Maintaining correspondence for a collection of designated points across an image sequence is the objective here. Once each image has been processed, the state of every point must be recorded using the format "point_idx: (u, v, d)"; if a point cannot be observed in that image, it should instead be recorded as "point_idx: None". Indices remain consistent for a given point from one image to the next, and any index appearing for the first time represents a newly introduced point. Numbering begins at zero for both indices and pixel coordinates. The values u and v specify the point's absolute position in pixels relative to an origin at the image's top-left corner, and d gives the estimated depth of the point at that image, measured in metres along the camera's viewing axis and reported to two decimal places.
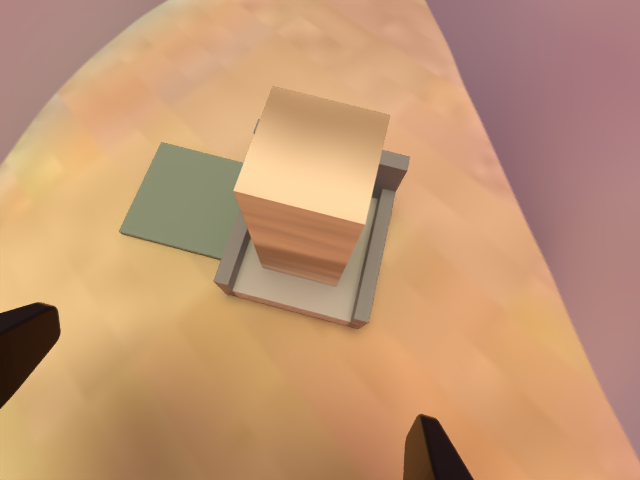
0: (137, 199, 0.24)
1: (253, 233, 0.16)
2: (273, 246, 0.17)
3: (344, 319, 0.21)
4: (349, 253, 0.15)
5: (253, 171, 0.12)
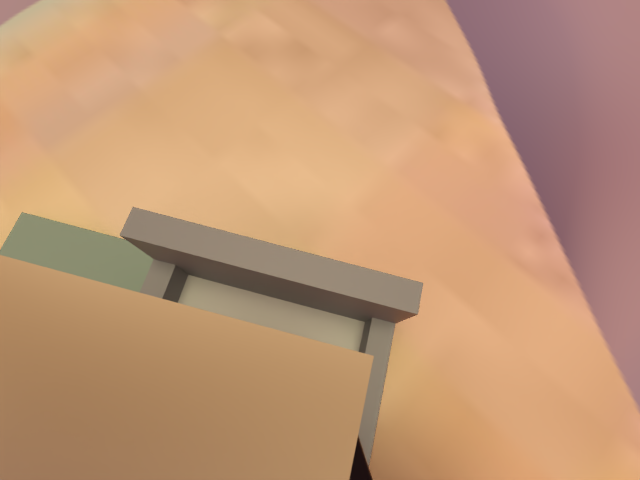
0: None
1: None
2: None
3: None
4: None
5: None
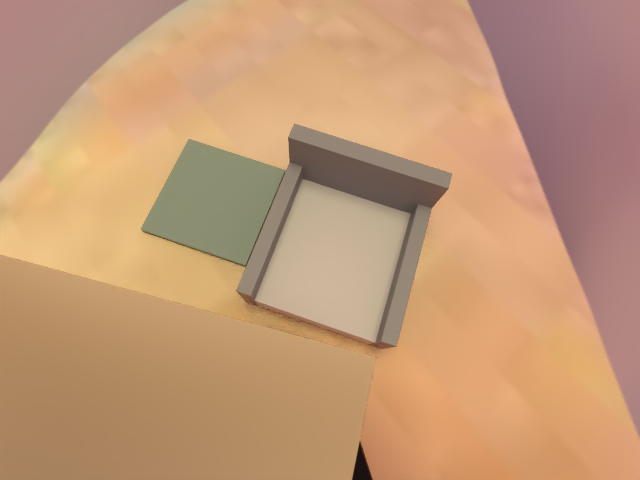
0: (161, 197, 0.23)
1: None
2: None
3: (369, 339, 0.20)
4: None
5: None
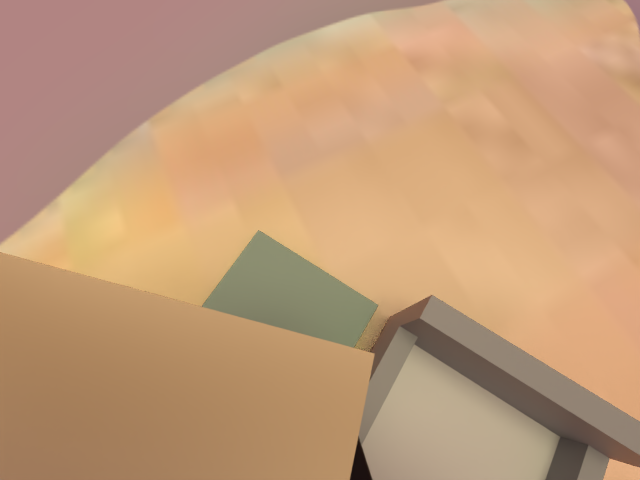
0: None
1: None
2: None
3: None
4: None
5: None
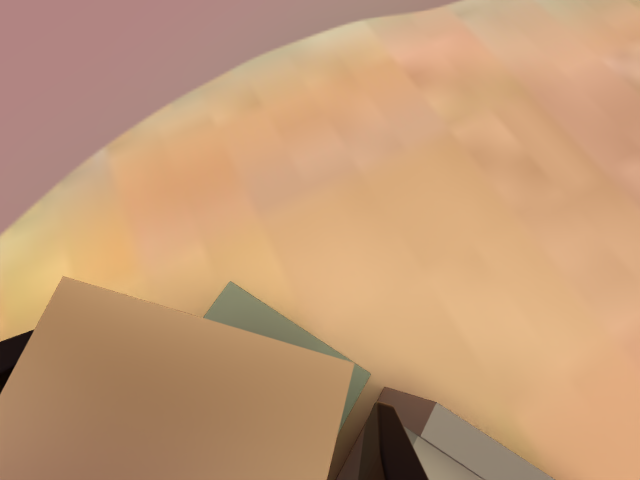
0: None
1: None
2: None
3: None
4: None
5: None
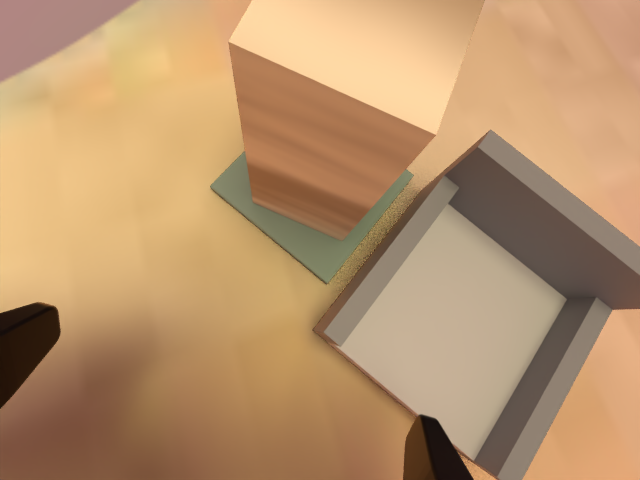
0: None
1: (249, 141, 0.11)
2: (274, 169, 0.12)
3: (466, 453, 0.14)
4: (382, 190, 0.10)
5: (266, 17, 0.07)
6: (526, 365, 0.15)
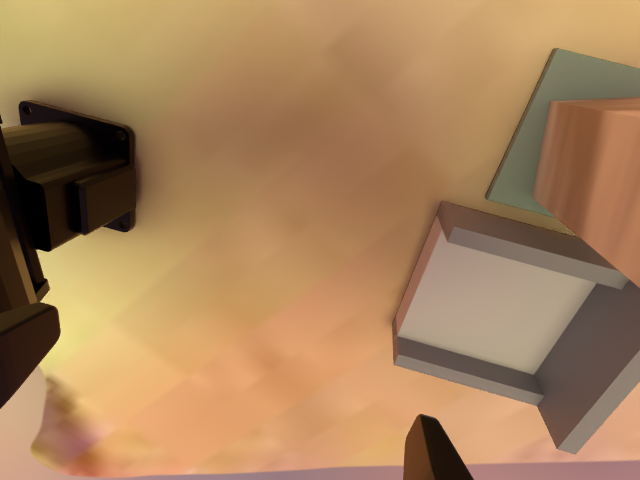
0: (611, 67, 0.15)
1: (632, 123, 0.11)
2: (602, 144, 0.12)
3: (400, 331, 0.21)
4: (606, 257, 0.12)
5: None
6: (472, 356, 0.21)
